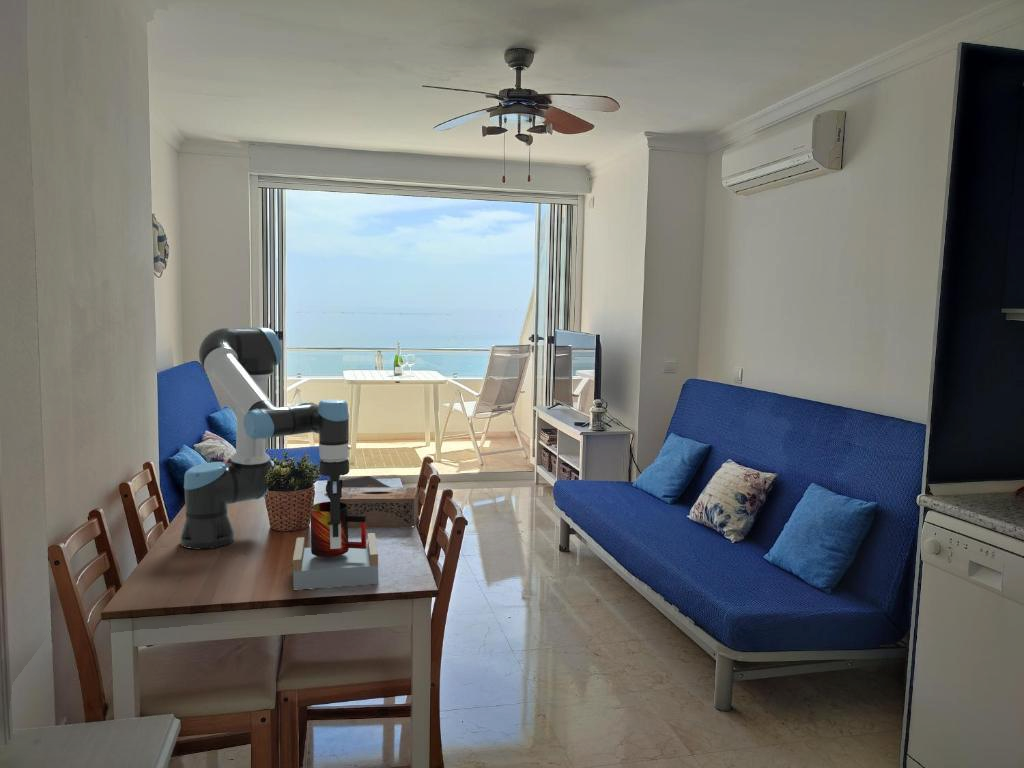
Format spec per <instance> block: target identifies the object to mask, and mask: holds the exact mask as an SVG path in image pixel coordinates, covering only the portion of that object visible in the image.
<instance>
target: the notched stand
mask: <svg viewBox="0 0 1024 768" xmlns="http://www.w3.org/2000/svg"><path fill="white" fill-rule="evenodd" d="M305 540H306V539H305V537H296V541H295V546H294V551H293V557H292V574H293V575H292V578H293V579H292V581H293V582H292V583H293V585H292V586H293V590H294V589H309V588H324V589H328V588H327V587H337V588H343V587H342V586H349V587H358V586H357V585H362V586H371V585H370V584H375V585H379V553H378V545H377V540H376V533H375V532H370V533H368V532H367V543H366V549H358V548H349V550H348V552H346V553H345V554H342V555H339V556H333V557H319V556H315V555H313V554H312V553H311V547H305V545H306V544H305Z"/></svg>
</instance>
